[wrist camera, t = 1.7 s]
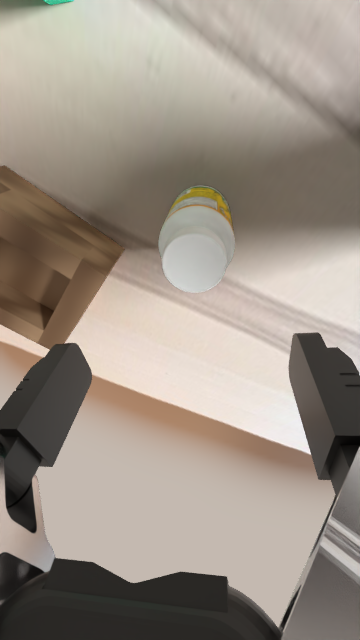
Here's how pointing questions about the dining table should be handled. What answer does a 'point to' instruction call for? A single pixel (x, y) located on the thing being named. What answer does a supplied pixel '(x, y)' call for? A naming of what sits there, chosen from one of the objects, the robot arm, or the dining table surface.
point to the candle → (56, 1)
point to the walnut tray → (47, 262)
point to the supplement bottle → (197, 240)
